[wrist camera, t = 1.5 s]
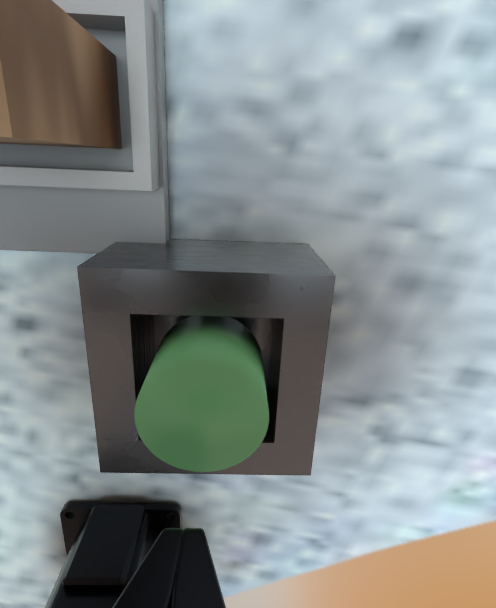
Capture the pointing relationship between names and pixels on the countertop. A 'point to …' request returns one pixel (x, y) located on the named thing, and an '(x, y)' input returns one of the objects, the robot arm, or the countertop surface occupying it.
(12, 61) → the billet
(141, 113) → the grey socket board
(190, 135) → the countertop surface
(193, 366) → the button
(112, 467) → the button box
